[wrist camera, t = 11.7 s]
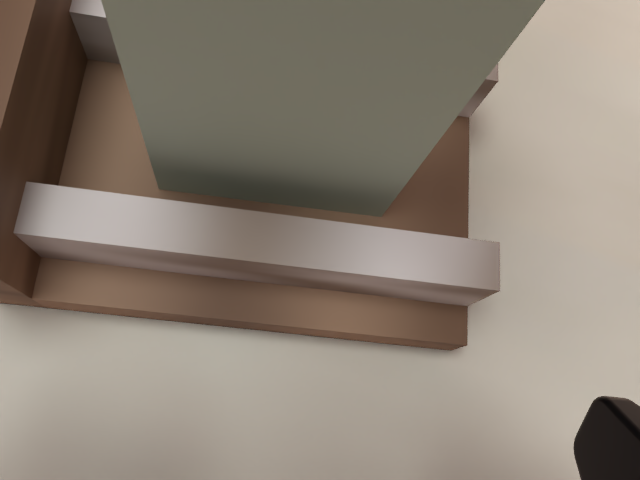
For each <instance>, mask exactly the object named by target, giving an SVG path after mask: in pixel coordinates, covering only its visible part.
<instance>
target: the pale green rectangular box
mask: <svg viewBox="0 0 640 480" xmlns="http://www.w3.org/2000/svg"><path fill="white" fill-rule="evenodd" d="M544 1H545V0H101V2H102V5H103V8H104V12H105V15H106V18H107V21H108V25H109V28H110V31H111V34H112V38H113V41H114V44H115V48H116V51H117V54H118V57H119V61H120V64H121V67H122V70H123V74H124V77H125V80H126V84H127V87H128V90H129V93H130V97H131V100H132V103H133V106H134V110H135V113H136V116H137V119H138V123H139V126H140V129H141V133H142V136H143V139H144V142H145V146H146V149H147V152H148V155H149V159H150V162H151V165H152V169H153V172H154V175H155V178H156V182H157V185H158V188H159V189H161V190H169V191H177V192H185V193H193V194H201V195H209V196H217V197H225V198H233V199H241V200H249V201H257V202H265V203H273V204H281V205H289V206H297V207H305V208H313V209H321V210H329V211H337V212H345V213H353V214H361V215H369V216H377V217H382V215H383V214H384V213H385V211H386V210H387V209H388V207H389V206H390V205H391V203H392V202H393V201H394V199H395V198H396V197H397V195H398V194H399V193H400V191H401V190H402V189H403V187H404V186H405V185H406V184H407V182H408V181H409V180H410V178H411V177H412V176H413V174H414V173H415V172H416V170H417V169H418V168H419V166H420V165H421V164H422V162H423V161H424V160H425V158H426V157H427V156H428V154H429V153H430V152H431V150H432V149H433V148H434V146H435V145H436V144H437V143H438V141H439V140H440V139H441V137H442V136H443V135H444V133H445V132H446V131H447V129H448V128H449V127H450V125H451V124H452V123H453V121H454V120H455V119H456V117H457V116H458V115H459V113H460V112H461V111H462V109H463V108H464V107H465V106H466V104H467V103H468V102H469V100H470V99H471V98H472V96H473V95H474V94H475V92H476V91H477V90H478V88H479V87H480V86H481V84H482V83H483V82H484V80H485V79H486V78H487V76H488V75H489V74H490V72H491V71H492V70H493V69H494V67H495V66H496V65H497V63H498V62H499V61H500V59H501V58H502V57H503V55H504V54H505V53H506V51H507V50H508V49H509V47H510V46H511V45H512V43H513V42H514V41H515V39H516V38H517V37H518V35H519V34H520V33H521V32H522V30H523V29H524V28H525V26H526V25H527V24H528V22H529V21H530V20H531V18H532V17H533V16H534V14H535V13H536V12H537V10H538V9H539V8H540V6H541V5H542V4H543V2H544Z"/></svg>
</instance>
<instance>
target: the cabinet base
mask: <svg viewBox="0 0 640 480" xmlns="http://www.w3.org/2000/svg"><path fill="white" fill-rule="evenodd" d="M497 82H498V63H497V65H496V66H495V67H494V69H493V70H492V71H491V72H490V74H489V75H488V76H487V78H486V79H485V80H484V82H483V83H482V84H481V86H480V87H479V88H478V90H477V91H476V92H475V94H474V95H473V96H472V98H471V99H470V100H469V102H468V103H467V104H466V106H465V107H464V108H463V109H462V111H461V112H460V113H459V115H458V116H457V117H456V119H455V120H454V121H453V123H452V124H451V125H450V127H449V128H448V129H447V131H446V132H445V133H444V135H443V136H442V137H441V139H440V140H439V141H438V143H437V144H436V145H435V146H434V148H433V149H432V150H431V152H430V153H429V154H428V156H427V157H426V158H425V160H424V161H423V162H422V164H421V165H420V166H419V168H418V169H417V170H416V172H415V173H414V174H413V176H412V177H411V178H410V180H409V181H408V182H407V184H406V185H405V186H404V187H403V189H402V190H401V191H400V193H399V194H398V195H397V197H396V198H395V199H394V201H393V202H392V203H391V205H390V206H389V207H388V209H387V210H386V211H385V213H384V214H383V215H382V217H377V216H369V215H361V214H353V213H345V212H337V211H329V210H321V209H313V208H305V207H297V206H289V205H281V204H273V203H265V202H257V201H249V200H241V199H233V198H225V197H217V196H209V195H201V194H193V193H185V192H177V191H169V190H161V189H159V188H158V185H157V182H156V178H155V175H154V172H153V169H152V165H151V162H150V159H149V155H148V152H147V149H146V146H145V142H144V139H143V136H142V133H141V129H140V126H139V123H138V119H137V116H136V113H135V110H134V106H133V103H132V100H131V97H130V93H129V90H128V87H127V84H126V80H125V77H124V74H123V70H122V67H121V64H120V61H119V57H118V54H117V51H116V48H115V44H114V41H113V38H112V34H111V31H110V28H109V25H108V21H107V18H106V15H105V12H104V8H103V5H102V2H101V0H0V303H7V304H17V305H26V306H36V307H45V308H55V309H64V310H74V311H83V312H93V313H102V314H112V315H121V316H131V317H140V318H150V319H159V320H168V321H178V322H187V323H197V324H206V325H216V326H225V327H235V328H244V329H254V330H263V331H273V332H282V333H292V334H301V335H311V336H320V337H330V338H339V339H349V340H358V341H368V342H377V343H386V344H396V345H405V346H415V347H424V348H434V349H443V350H454V349H457V348H460V347H463V346H467V308H468V306H469V305H471V304H473V303H475V302H477V301H479V300H481V299H484V298H486V297H488V296H490V295H492V294H494V293H496V292H498V291H500V242H492V241H484V240H476V239H468V190H469V117H470V116H471V115H472V113H473V112H474V111H475V110H476V108H477V107H478V106H479V104H480V103H481V102H482V101H483V99H484V98H485V97H486V96H487V94H488V93H489V92H490V91H491V89H492V88H493V87H494V86H495V84H496V83H497Z"/></svg>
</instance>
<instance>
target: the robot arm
mask: <svg viewBox="0 0 640 480" xmlns="http://www.w3.org/2000/svg"><path fill="white" fill-rule="evenodd" d="M574 455H575V460H576V463H577V467H578V470H579V474H580V477H581V480H640V406H638V405H637V404H635V403H634V402H632V401H631V400H629V399H626V398H618V397H609V396H601V397H598V398H596V399H595V400H594V401H593V402H592V404H591V406H590V408H589V410H588V412H587V414H586V416H585V418H584V420H583V422H582V424H581V426H580V429H579V431H578V433H577V435H576V437H575V441H574Z"/></svg>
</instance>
